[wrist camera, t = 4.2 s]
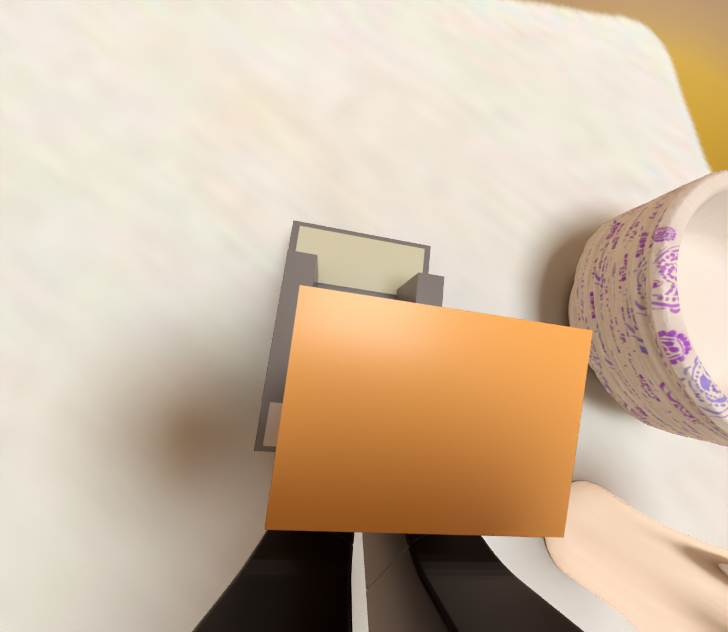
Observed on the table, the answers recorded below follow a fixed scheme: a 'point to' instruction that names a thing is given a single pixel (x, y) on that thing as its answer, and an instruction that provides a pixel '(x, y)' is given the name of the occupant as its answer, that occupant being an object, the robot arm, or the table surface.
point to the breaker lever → (426, 420)
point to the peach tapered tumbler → (642, 565)
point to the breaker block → (340, 273)
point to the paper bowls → (662, 309)
